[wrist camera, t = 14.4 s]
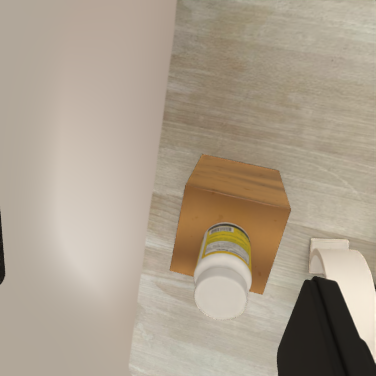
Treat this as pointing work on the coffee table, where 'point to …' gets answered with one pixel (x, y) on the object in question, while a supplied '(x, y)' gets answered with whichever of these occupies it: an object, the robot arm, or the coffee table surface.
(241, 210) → the block
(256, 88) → the coffee table surface
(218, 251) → the supplement bottle
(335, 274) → the headphone stand
